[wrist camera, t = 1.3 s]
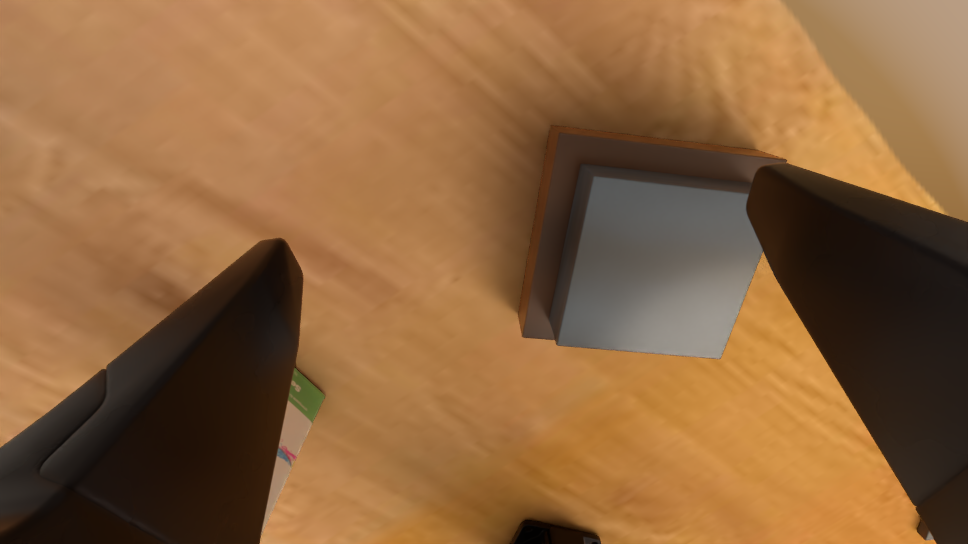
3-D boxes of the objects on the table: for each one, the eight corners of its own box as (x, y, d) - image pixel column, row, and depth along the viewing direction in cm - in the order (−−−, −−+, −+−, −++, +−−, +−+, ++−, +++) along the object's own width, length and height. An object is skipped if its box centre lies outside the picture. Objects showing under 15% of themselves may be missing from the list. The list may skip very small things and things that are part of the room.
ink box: (235, 454, 32) (118, 656, 21) (173, 406, 30) (11, 600, 19) (329, 394, 30) (253, 582, 19) (270, 339, 28) (150, 514, 18)
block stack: (694, 330, 29) (735, 381, 24) (517, 314, 28) (527, 364, 24) (758, 150, 24) (824, 171, 20) (550, 124, 24) (569, 141, 19)
